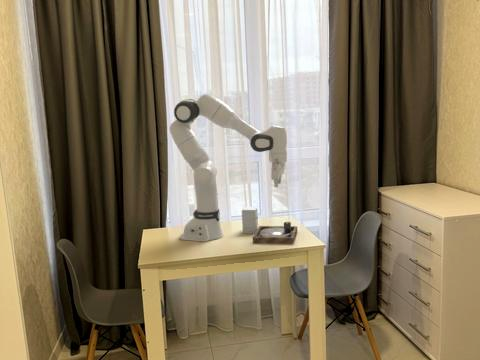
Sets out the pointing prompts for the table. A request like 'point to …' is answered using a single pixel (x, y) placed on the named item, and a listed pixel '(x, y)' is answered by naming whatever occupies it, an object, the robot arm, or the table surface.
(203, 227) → the robot arm
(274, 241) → the dial housing
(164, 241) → the table surface
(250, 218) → the supplement box
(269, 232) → the dial
